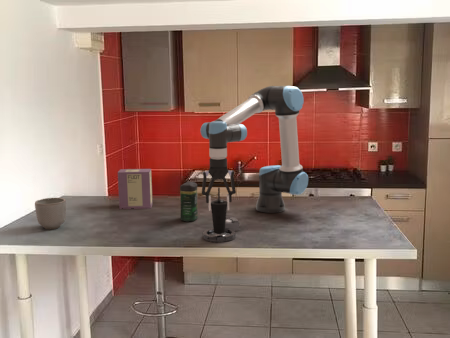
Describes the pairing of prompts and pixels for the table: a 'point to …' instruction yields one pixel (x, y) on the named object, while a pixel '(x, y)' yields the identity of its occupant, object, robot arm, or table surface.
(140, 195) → the box
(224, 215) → the drinking cup
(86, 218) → the table surface
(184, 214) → the coffee jar
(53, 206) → the planter
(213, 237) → the plate
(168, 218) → the table surface
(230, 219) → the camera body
